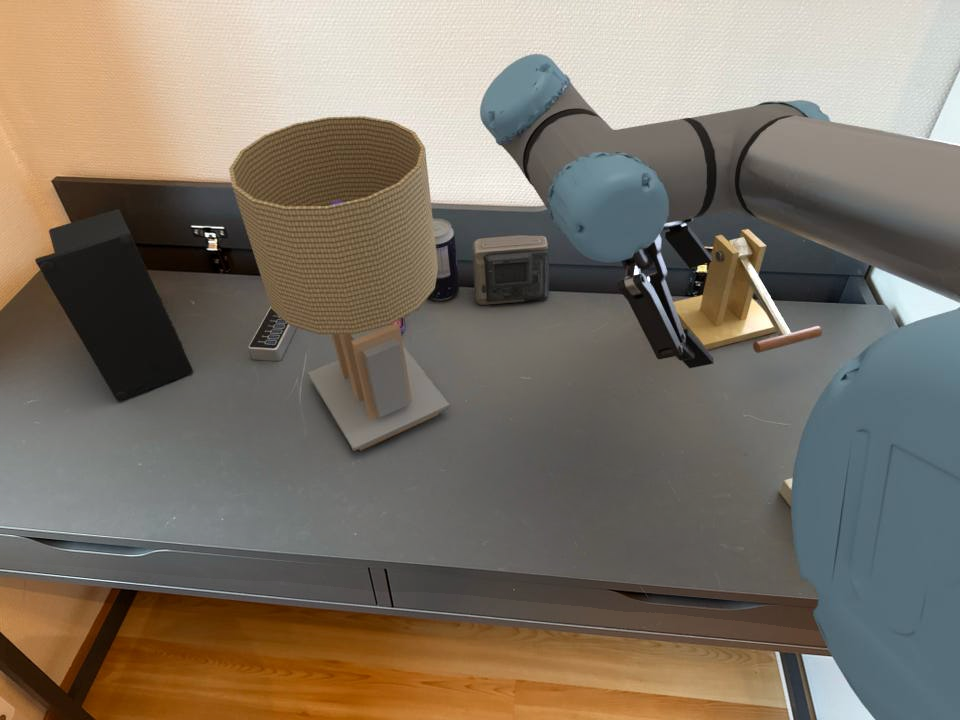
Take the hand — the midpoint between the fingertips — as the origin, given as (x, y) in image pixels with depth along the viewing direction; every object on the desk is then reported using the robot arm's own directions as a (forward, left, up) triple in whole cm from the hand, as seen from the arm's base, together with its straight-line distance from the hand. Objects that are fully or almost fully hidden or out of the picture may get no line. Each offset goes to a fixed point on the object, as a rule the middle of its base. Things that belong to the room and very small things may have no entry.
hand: (701, 311), depth 80 cm
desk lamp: (+15, +37, -16) cm, 43 cm away
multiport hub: (+35, +48, -16) cm, 61 cm away
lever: (+8, -14, -8) cm, 18 cm away
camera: (+30, +13, -16) cm, 36 cm away
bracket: (+14, -14, -16) cm, 26 cm away
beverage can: (+35, +23, -16) cm, 45 cm away
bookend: (+39, +69, -16) cm, 81 cm away
